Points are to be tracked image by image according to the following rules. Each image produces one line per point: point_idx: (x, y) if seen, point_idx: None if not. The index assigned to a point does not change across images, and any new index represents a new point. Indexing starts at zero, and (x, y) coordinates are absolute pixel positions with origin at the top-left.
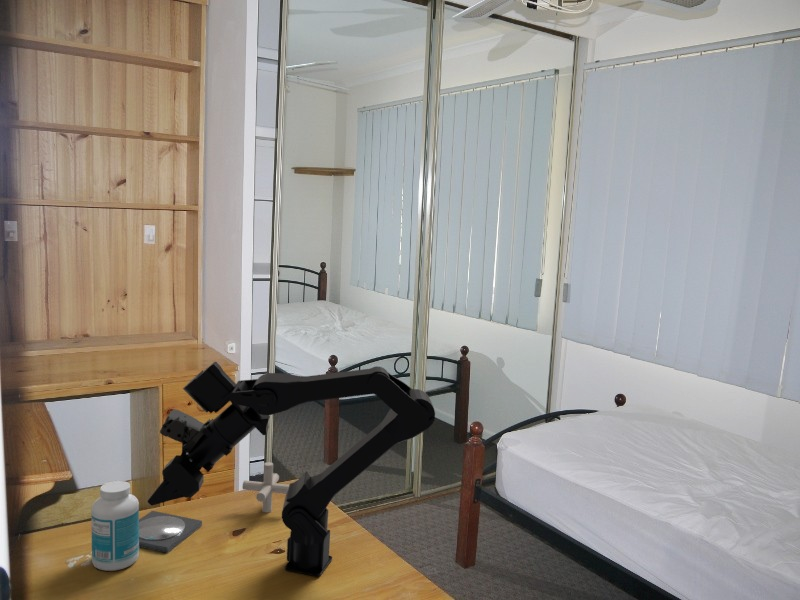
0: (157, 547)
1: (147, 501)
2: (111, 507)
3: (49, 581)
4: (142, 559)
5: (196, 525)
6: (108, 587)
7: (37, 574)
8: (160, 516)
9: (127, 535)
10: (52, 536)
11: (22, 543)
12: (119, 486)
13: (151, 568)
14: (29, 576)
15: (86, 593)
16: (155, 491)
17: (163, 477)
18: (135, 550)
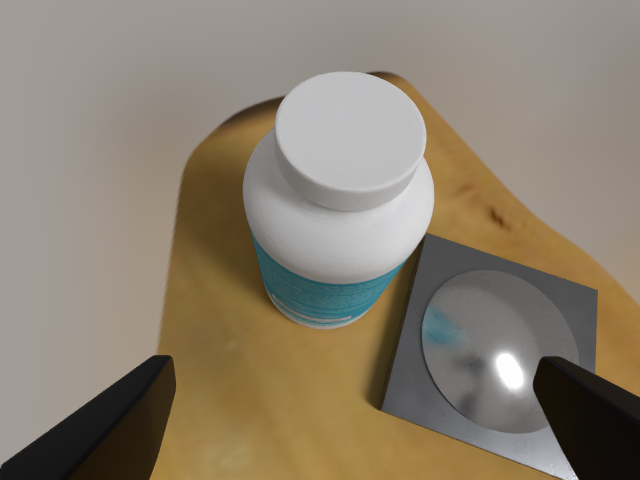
0: (390, 370)
1: (154, 356)
2: (260, 176)
3: (231, 162)
4: (336, 341)
5: (552, 474)
6: (193, 294)
7: (261, 132)
8: (567, 327)
9: (278, 285)
10: (421, 109)
11: (384, 71)
12: (356, 143)
13: (286, 383)
14: (253, 122)
15: (170, 252)
16: (45, 434)
17: (547, 357)
18: (308, 320)
